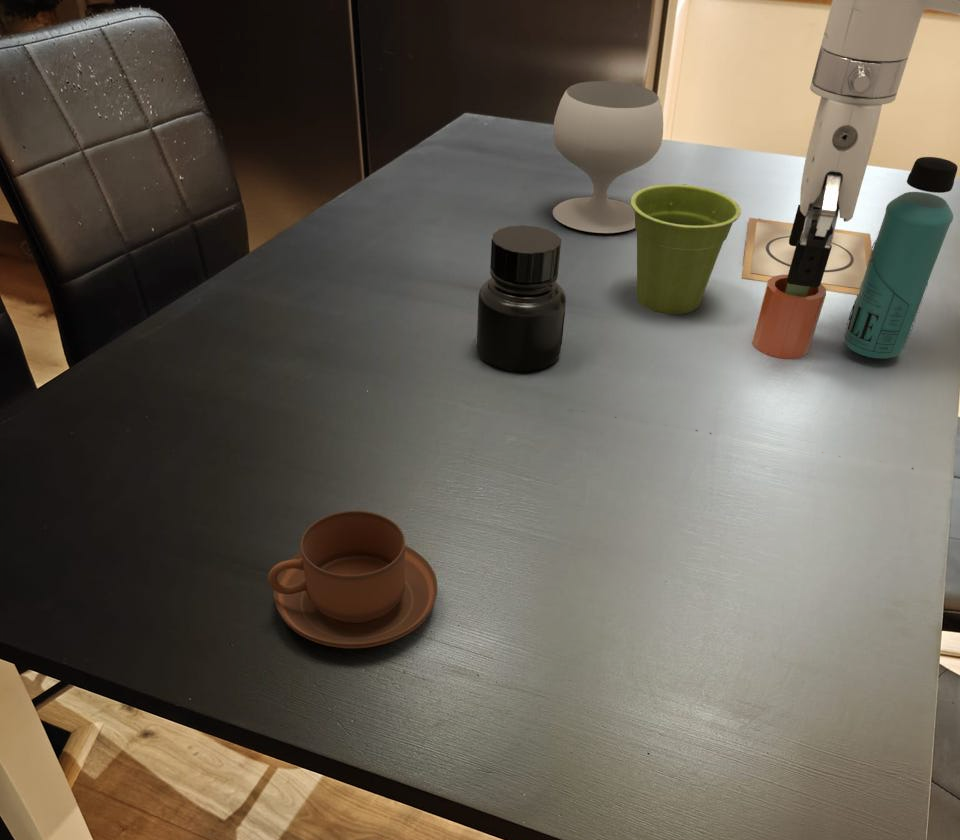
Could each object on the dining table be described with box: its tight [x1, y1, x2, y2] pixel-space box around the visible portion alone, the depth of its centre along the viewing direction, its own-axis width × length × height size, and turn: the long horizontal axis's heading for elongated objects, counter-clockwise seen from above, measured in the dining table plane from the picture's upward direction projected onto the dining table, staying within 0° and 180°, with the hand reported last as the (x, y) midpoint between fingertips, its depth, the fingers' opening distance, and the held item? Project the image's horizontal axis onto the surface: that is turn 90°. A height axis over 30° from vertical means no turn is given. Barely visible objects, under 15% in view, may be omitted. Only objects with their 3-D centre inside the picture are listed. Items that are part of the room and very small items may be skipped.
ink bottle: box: [476, 224, 567, 372], centre depth 95 cm, size 10×9×12 cm
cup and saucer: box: [267, 510, 438, 649], centre depth 68 cm, size 12×12×6 cm
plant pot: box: [630, 183, 742, 315], centre depth 105 cm, size 12×12×11 cm
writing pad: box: [741, 217, 873, 296], centre depth 119 cm, size 16×20×1 cm
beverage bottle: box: [843, 156, 958, 359], centre depth 94 cm, size 6×7×20 cm
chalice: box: [552, 80, 664, 234], centre depth 121 cm, size 14×14×15 cm
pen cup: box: [751, 275, 827, 360], centre depth 99 cm, size 6×6×7 cm
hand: (803, 264), depth 95 cm, fingers open, 9 cm apart
